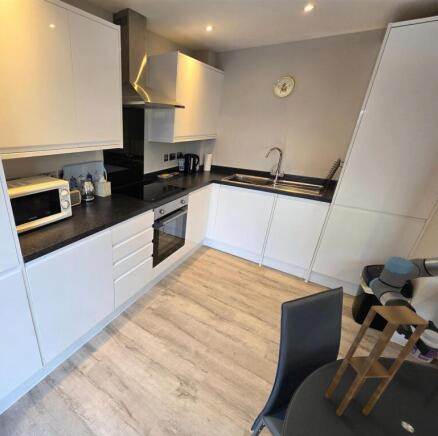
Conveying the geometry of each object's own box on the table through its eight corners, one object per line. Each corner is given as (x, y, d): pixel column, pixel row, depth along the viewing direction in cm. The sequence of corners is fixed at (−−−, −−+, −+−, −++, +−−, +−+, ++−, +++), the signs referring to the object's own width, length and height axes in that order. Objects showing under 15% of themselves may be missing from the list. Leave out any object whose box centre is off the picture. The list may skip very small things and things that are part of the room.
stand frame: (351, 395, 81) (404, 307, 66) (367, 415, 75) (428, 324, 61) (324, 396, 80) (371, 307, 66) (337, 416, 75) (392, 324, 60)
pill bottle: (434, 360, 80) (449, 338, 76) (425, 365, 78) (441, 343, 75) (412, 346, 85) (426, 325, 81) (404, 351, 83) (418, 329, 79)
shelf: (404, 307, 66) (405, 306, 66) (428, 324, 61) (429, 322, 61) (371, 307, 66) (372, 305, 65) (392, 324, 60) (393, 322, 60)
